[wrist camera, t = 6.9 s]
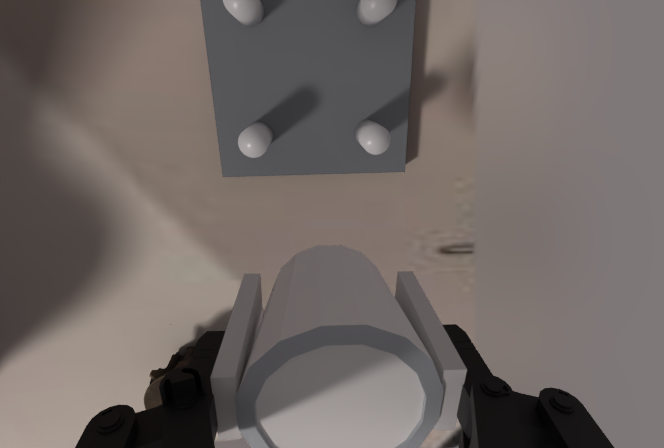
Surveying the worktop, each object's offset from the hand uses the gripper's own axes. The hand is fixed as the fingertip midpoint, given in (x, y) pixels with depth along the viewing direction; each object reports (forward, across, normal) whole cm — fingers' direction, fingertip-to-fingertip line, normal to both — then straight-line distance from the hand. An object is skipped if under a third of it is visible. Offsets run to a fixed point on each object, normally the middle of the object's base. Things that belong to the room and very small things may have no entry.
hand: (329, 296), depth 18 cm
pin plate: (+15, -1, +10) cm, 18 cm away
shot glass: (+1, 0, 0) cm, 1 cm away
